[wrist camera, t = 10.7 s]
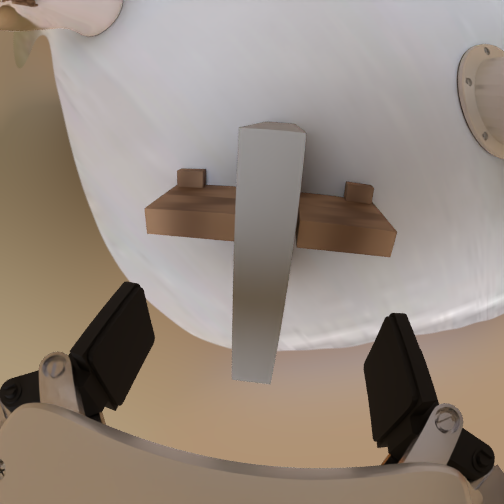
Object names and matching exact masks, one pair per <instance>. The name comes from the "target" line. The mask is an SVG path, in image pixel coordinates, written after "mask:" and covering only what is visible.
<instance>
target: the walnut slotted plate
mask: <svg viewBox="0 0 504 504" xmlns="http://www.w3.org/2000/svg"><path fill="white" fill-rule="evenodd" d="M177 184H178V185H176V186H175V187H173V188H172V189H171V190H169V191H168V192H166V193H165V194H164V195H162V196H161V197H159V198H158V199H157V200H155V201H154V202H153V203H151V204H150V205H149V206H147V207H146V208H145V218H146V227H147V234H158V235H169V236H181V237H192V238H203V239H214V240H224V241H234V236H235V206H236V187H233V186H215V185H206V169H180V170H178V171H177ZM373 192H374V188H373V187H372V186H371V185H366V184H360V183H353V182H346V186H345V193H344V197H337V196H329V195H321V194H312V193H303V192H300V199H299V207H298V215H297V223H296V245H297V248H307V249H317V250H326V251H336V252H346V253H355V254H365V255H374V256H384V257H390V256H391V252H392V249H393V245H394V242H395V238H396V234H397V231H396V230H395V229H394V228H393V226H392V225H391V224H390V223H389V222H388V220H387V219H386V218H385V217H384V216H383V214H382V213H381V212H380V211H379V210H378V209H377V207H376V206H375V205H374V204H373V203H372V197H373Z"/></svg>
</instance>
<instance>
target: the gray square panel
mask: <svg viewBox="0 0 504 504" xmlns="http://www.w3.org/2000/svg"><path fill="white" fill-rule="evenodd" d="M305 143H306V132H304V131H303V130H302V129H301V128H299V127H298V126H297V125H296V124H289V123H278V122H262V123H257V124H253V125H248V126H244V127H239V136H238V157H237V180H236V206H235V236H234V271H233V319H232V379H233V380H240V381H247V382H255V383H264V384H270V383H271V379H272V374H273V368H274V363H275V357H276V352H277V347H278V341H279V335H280V329H281V324H282V318H283V312H284V305H285V299H286V293H287V286H288V280H289V273H290V267H291V260H292V253H293V245H294V238H295V231H296V223H297V215H298V207H299V199H300V190H301V181H302V172H303V163H304V153H305Z"/></svg>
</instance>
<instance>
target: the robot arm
mask: <svg viewBox="0 0 504 504" xmlns="http://www.w3.org/2000/svg"><path fill="white" fill-rule="evenodd" d="M458 89H459V97H460V102H461V106H462V109H463V113H464V116H465V119H466V121H467V123H468V125H469V128H470V130H471V131H472V133H473V135H474V136H475V138H476V139H477V141H478V142H479V143H480V145H481V146H482V147H483V148H484V149H485V150H486V151H488V152H489V153H490V154H492V155H494V156H496V157H499V158H501V159H504V51H503V50H501V49H500V48H498V47H496V46H493V45H489V44H481V45H476V46H473V47H472V48H470V49H468V51H467V52H466V53H465V54H464V56H463V58H462V60H461V62H460V67H459V71H458ZM154 339H155V336H154V332H153V327H152V324H151V320H150V316H149V312H148V307H147V303H146V298H145V294H144V290H143V288H141V287H140V285H139V284H137V283H132V282H124V283H123V284H122V285H121V287H120V288H119V289H118V290H117V291H116V292H115V294H114V295H113V296H112V297H111V298H110V300H109V301H108V302H107V303H106V305H105V306H104V307H103V308H102V310H101V311H100V312H99V313H98V315H97V316H96V317H95V318H94V320H93V321H92V322H91V324H90V325H89V326H88V327H87V329H86V330H85V331H84V333H83V334H82V335H81V337H80V338H79V340H78V341H77V342H76V343H75V345H74V346H73V347H72V349H71V350H70V352H71V353H70V354H69V355H67V354H65V353H63V352H53V353H50V354H48V355H47V356H46V357H44V358H43V360H42V361H41V363H40V365H39V370H38V371H35V372H32V373H28V374H25V375H22V376H18V377H15V378H12V379H9V380H7V381H6V382H5V383H4V384H3V385H2V387H1V389H0V504H504V473H503V472H502V470H501V469H500V468H499V466H498V465H496V466H494V459H495V456H494V452H493V450H492V448H491V447H490V446H489V445H487V444H485V443H484V442H483V441H481V440H480V439H478V438H477V437H475V436H474V435H472V434H471V433H469V432H468V431H466V430H465V429H464V428H462V427H463V417H462V415H461V412H460V411H459V410H458V409H457V408H456V407H455V406H453V405H451V404H445V403H444V404H440V405H439V403H438V400H437V396H436V392H435V389H434V386H433V383H432V380H431V377H430V374H429V371H428V368H427V365H426V362H425V359H424V357H423V354H422V351H421V349H420V348H419V345H418V343H417V340H416V337H415V335H414V332H413V330H412V327H411V325H410V322H409V320H408V317H407V315H406V314H404V313H391V314H390V315H389V317H388V316H387V317H386V318H385V319H384V322H383V324H382V326H381V329H380V331H379V333H378V335H377V338H376V340H375V342H374V344H373V346H372V348H371V350H370V352H369V355H368V356H367V359H366V361H365V363H364V374H365V380H366V387H367V394H368V400H369V408H370V416H371V425H372V434H373V439H374V441H377V447H378V448H381V447H388V453H389V455H388V456H387V457H386V458H385V460H384V461H383V463H382V464H381V465H379V466H368V467H352V468H319V469H318V468H289V467H274V466H265V465H255V464H247V463H240V462H234V461H228V460H222V459H217V458H212V457H207V456H202V455H198V454H194V453H189V452H186V451H182V450H177V449H174V448H170V447H166V446H163V445H160V444H157V443H154V442H150V441H148V440H145V439H141V438H139V437H136V436H133V435H130V434H128V433H125V432H122V431H120V430H117V429H114V428H112V427H109V426H107V425H106V423H105V420H104V417H103V413H102V411H103V409H104V407H107V408H110V409H112V410H115V411H116V409H117V407H118V405H119V406H120V405H122V404H123V402H124V400H125V398H126V396H127V394H128V392H129V390H130V388H131V386H132V384H133V382H134V380H135V378H136V376H137V374H138V372H139V370H140V368H141V366H142V364H143V363H144V361H145V359H146V357H147V355H148V353H149V351H150V349H151V347H152V346H153V343H154Z"/></svg>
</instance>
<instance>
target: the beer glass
mask: <svg viewBox="0 0 504 504" xmlns="http://www.w3.org/2000/svg"><path fill="white" fill-rule="evenodd" d="M122 2H123V1H122V0H0V30H1V31H34V30H45V29H58V28H64V29H70V30H73V31H75V32H77V33H79V34H81V35H83V36H86V37H91V36H96V35H98V34H100V33H102V32H103V31H105V30H106V29H107V28H109V27H110V26H111V25H112V23H113V22H114V21H115V20H116V18H117V17H118V15H119V13H120V11H121V8H122Z"/></svg>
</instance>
